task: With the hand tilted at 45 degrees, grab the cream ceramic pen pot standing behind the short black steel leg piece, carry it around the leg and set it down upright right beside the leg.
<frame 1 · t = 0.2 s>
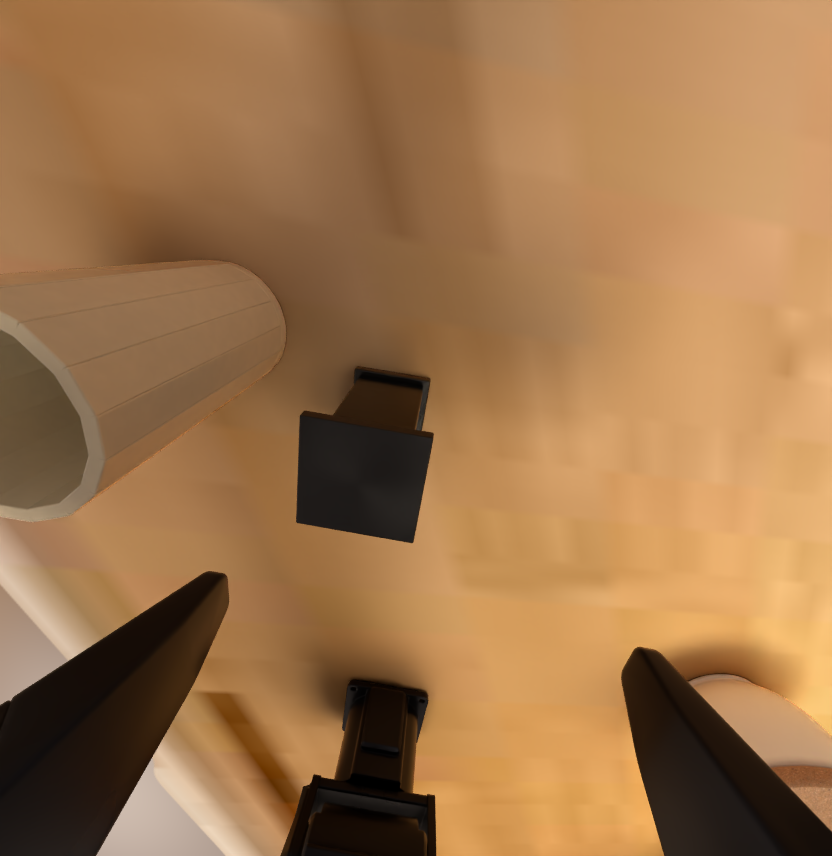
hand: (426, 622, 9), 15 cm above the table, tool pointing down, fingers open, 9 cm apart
trinket box: (711, 697, 31), on the table
pen pot: (228, 324, 21), on the table
leg piece: (389, 406, 23), on the table
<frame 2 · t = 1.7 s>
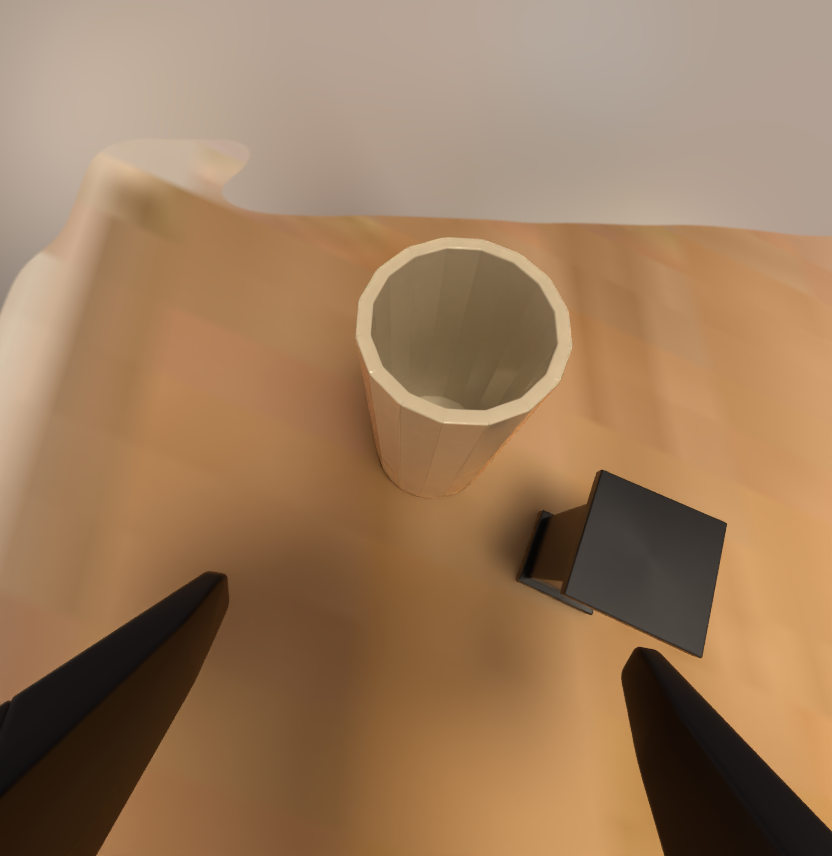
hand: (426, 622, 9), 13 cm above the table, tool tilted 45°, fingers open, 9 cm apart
pen pot: (431, 444, 24), on the table
leg piece: (562, 560, 22), on the table
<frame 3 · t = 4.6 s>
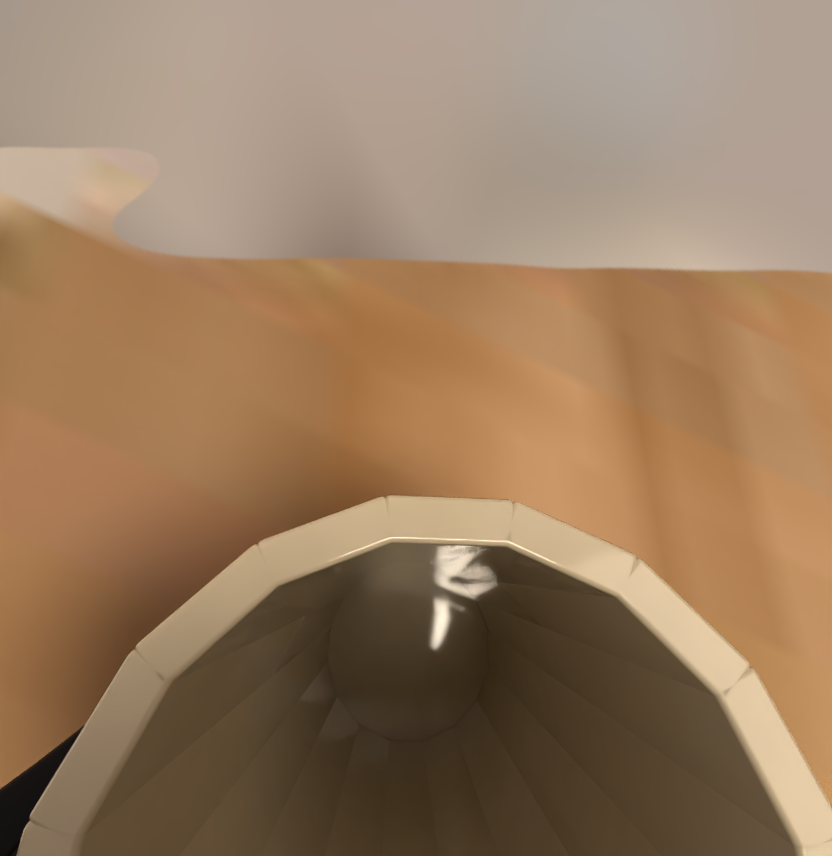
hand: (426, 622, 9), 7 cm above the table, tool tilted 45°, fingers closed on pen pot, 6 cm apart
pen pot: (408, 641, 15), on the table, touching gripper
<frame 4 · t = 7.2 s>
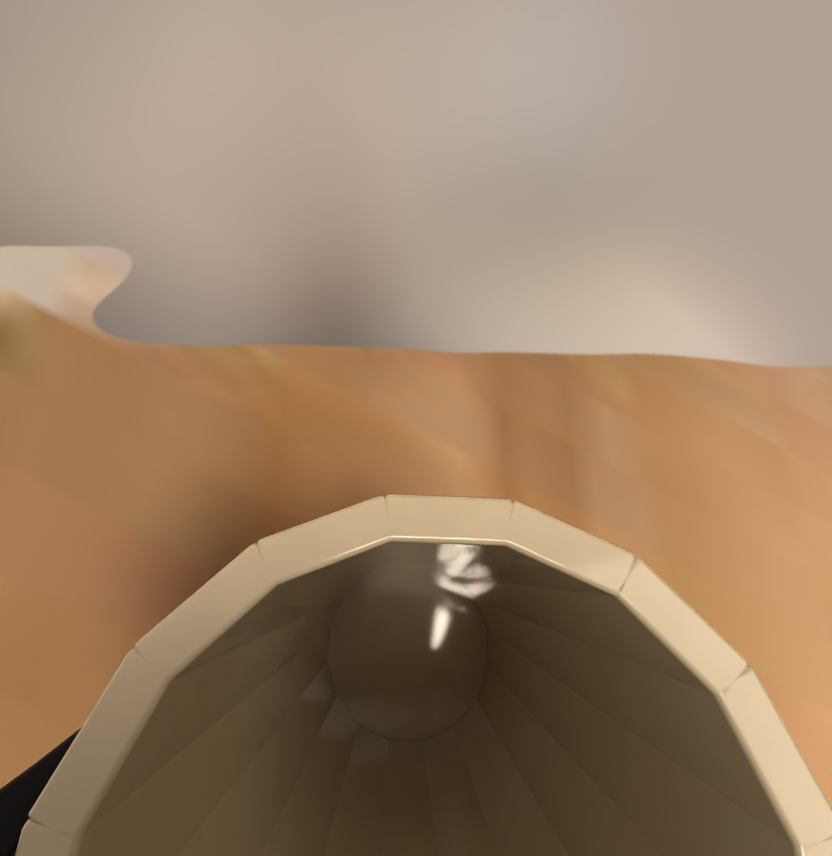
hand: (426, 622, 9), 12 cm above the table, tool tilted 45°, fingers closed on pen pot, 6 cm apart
pen pot: (408, 641, 15), point 6 cm above the table, touching gripper
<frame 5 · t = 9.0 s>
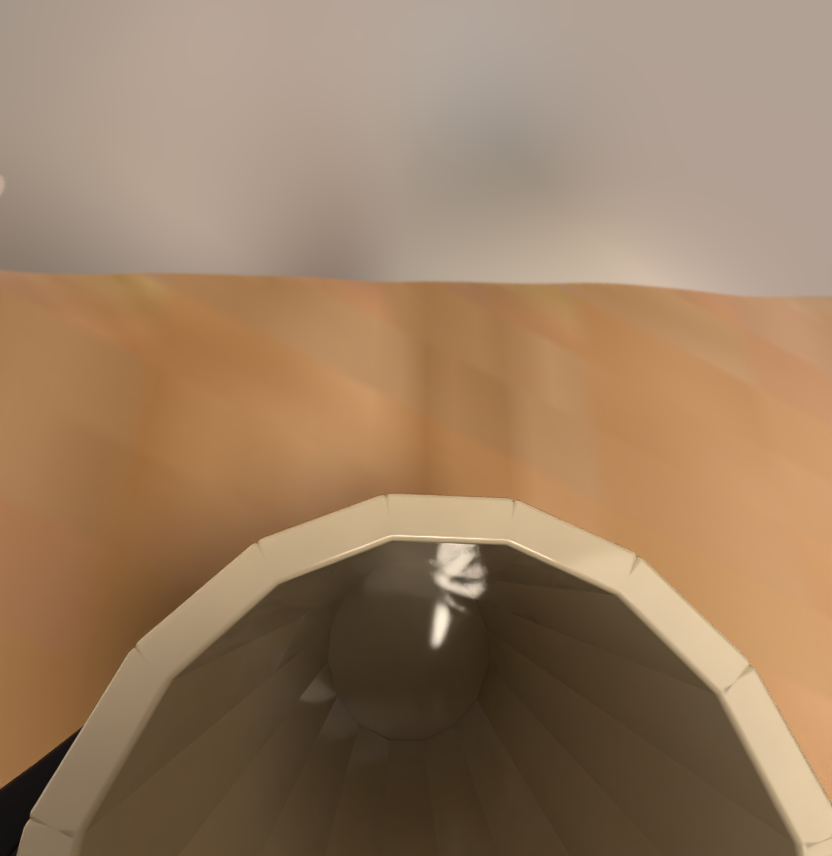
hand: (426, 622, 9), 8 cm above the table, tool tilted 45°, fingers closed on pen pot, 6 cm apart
pen pot: (408, 641, 15), point 2 cm above the table, touching gripper
when the fingers open (7 cm above the table, at t = 10.1 s): pen pot stays where it is, on the table.
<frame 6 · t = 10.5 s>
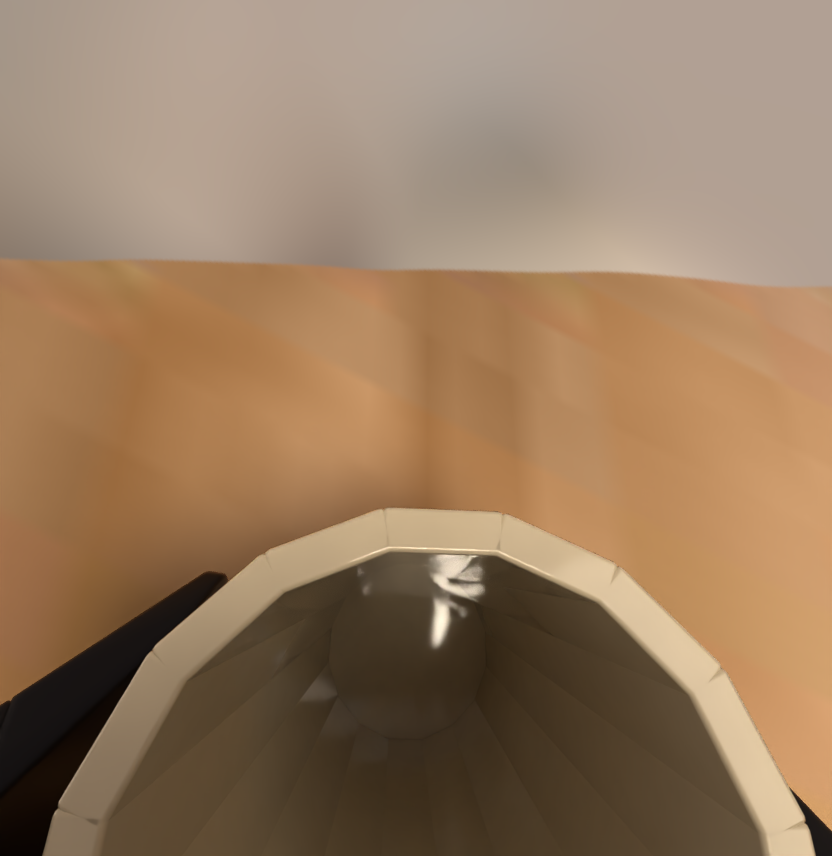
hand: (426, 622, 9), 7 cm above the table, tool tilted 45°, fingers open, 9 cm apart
pen pot: (407, 642, 15), on the table
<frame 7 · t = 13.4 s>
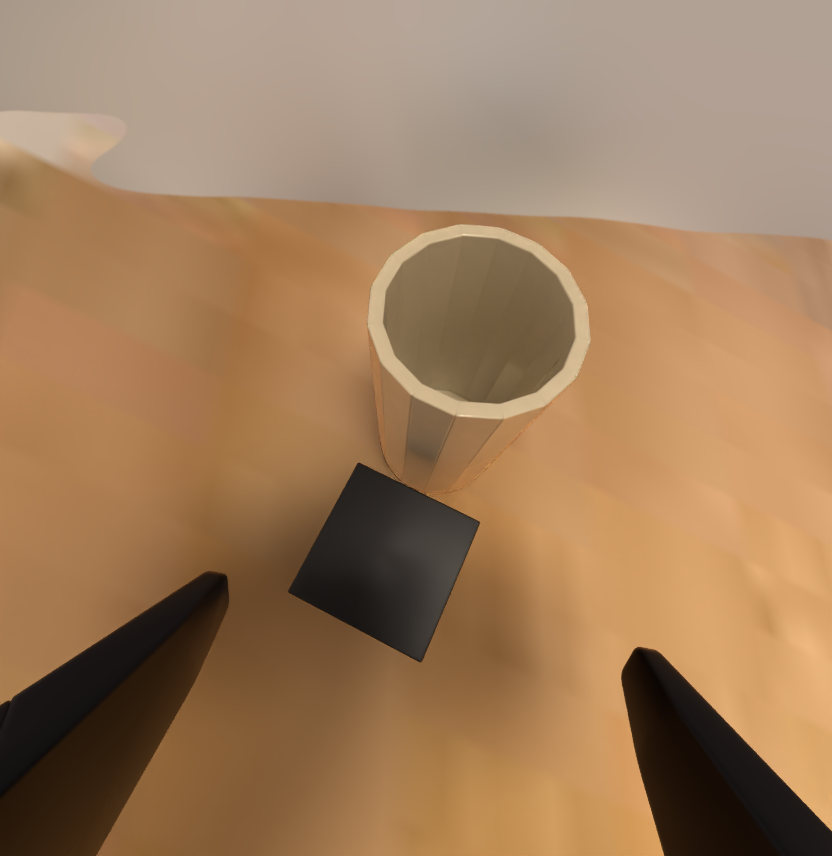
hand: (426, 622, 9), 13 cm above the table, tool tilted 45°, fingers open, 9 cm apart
pen pot: (436, 439, 23), on the table
leg piece: (389, 557, 21), on the table
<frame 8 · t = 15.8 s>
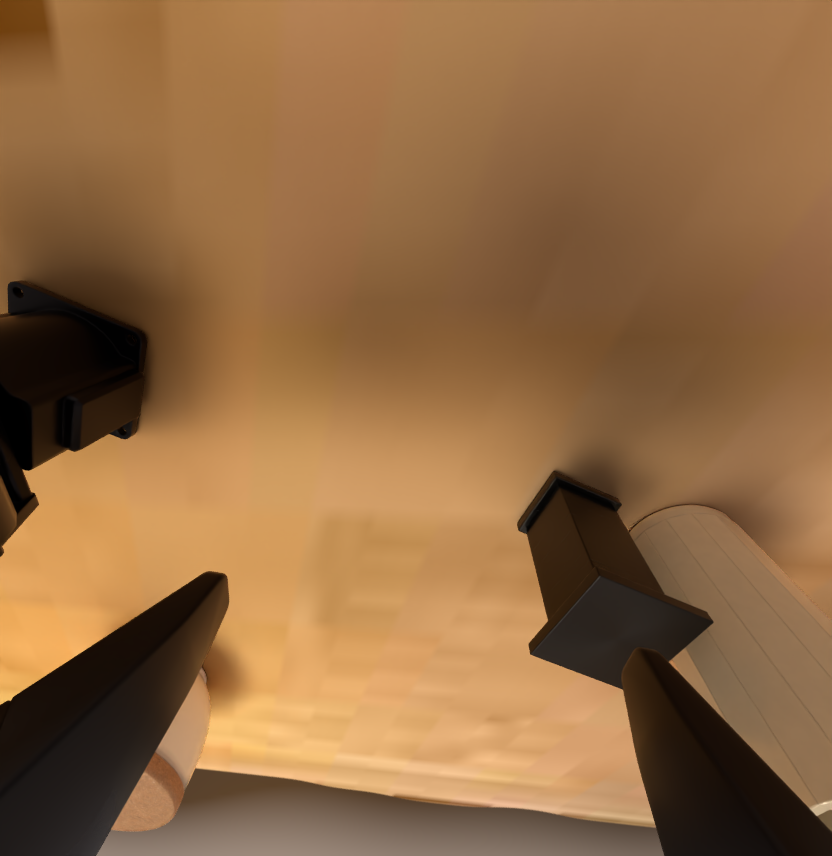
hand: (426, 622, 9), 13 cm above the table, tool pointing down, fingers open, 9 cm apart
trinket box: (171, 668, 32), on the table
pen pot: (678, 549, 23), on the table
leg piece: (566, 511, 23), on the table
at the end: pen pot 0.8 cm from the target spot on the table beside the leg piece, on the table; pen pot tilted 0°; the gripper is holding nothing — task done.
